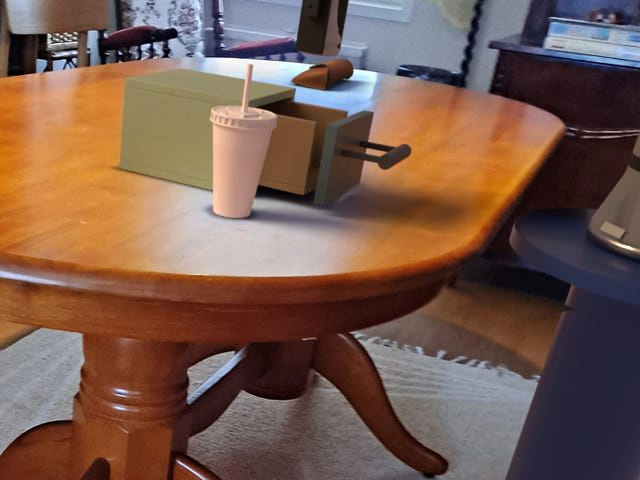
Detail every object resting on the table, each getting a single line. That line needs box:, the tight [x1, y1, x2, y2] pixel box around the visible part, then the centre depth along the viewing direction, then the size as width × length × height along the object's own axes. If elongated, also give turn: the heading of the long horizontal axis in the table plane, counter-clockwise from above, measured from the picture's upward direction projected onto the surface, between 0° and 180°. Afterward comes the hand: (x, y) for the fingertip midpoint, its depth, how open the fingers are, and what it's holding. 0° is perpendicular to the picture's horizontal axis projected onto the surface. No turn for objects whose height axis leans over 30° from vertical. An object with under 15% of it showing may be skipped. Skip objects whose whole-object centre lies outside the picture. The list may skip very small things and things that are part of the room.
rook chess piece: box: [300, 0, 342, 57], centre depth 83 cm, size 4×4×8 cm
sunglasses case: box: [290, 58, 354, 91], centre depth 167 cm, size 18×7×7 cm
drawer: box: [255, 99, 412, 206], centre depth 89 cm, size 19×12×8 cm, turn 60°
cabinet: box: [118, 68, 297, 191], centre depth 94 cm, size 15×13×10 cm
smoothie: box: [210, 63, 277, 219], centre depth 80 cm, size 6×6×14 cm
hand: (317, 50), depth 85 cm, fingers closed on rook chess piece, 4 cm apart
